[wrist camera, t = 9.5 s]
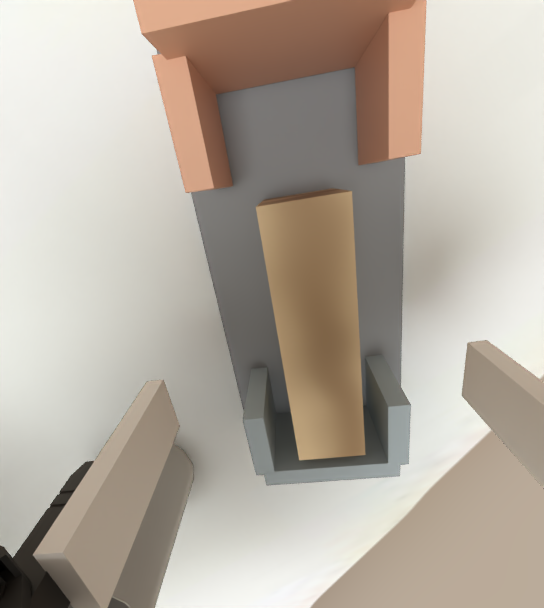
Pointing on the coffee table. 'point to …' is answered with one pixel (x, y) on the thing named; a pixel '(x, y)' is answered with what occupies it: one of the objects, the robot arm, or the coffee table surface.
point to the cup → (155, 536)
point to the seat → (254, 280)
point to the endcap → (285, 68)
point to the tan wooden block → (317, 317)
